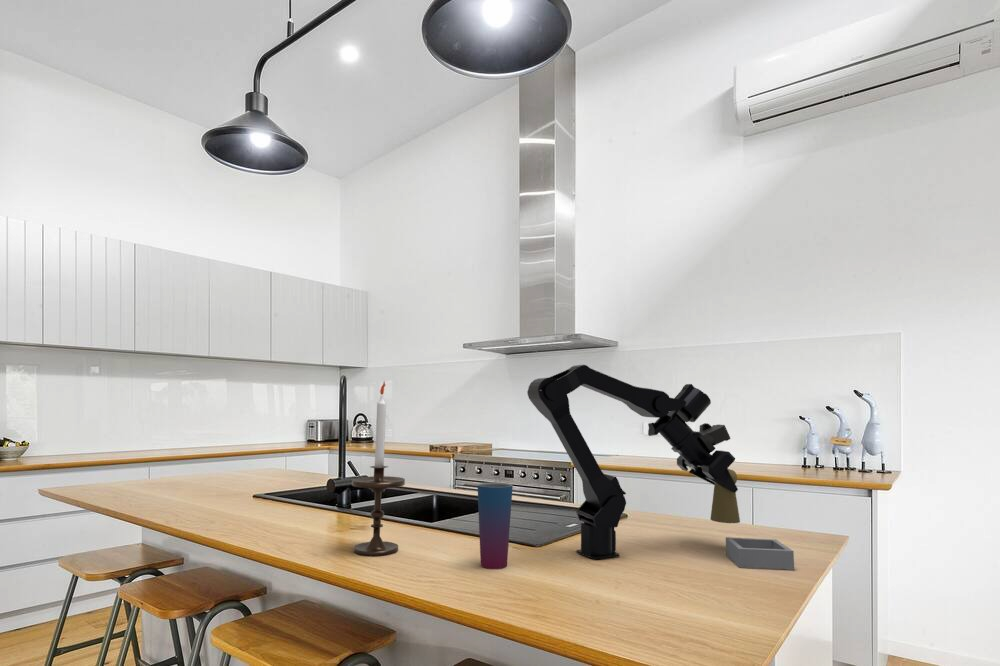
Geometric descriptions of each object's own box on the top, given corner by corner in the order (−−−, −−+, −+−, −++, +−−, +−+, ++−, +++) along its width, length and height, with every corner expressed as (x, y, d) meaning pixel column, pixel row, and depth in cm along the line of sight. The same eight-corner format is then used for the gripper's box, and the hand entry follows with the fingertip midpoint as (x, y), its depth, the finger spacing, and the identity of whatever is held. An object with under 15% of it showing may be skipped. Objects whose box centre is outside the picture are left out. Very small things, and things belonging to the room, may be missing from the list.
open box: (739, 567, 114) (738, 548, 115) (726, 554, 124) (725, 537, 124) (794, 570, 113) (793, 551, 113) (776, 556, 123) (775, 539, 123)
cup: (477, 560, 117) (478, 482, 118) (511, 561, 116) (512, 482, 118) (474, 569, 110) (476, 486, 112) (511, 570, 110) (512, 487, 111)
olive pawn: (745, 523, 127) (744, 470, 128) (719, 523, 126) (718, 470, 127) (730, 517, 132) (729, 467, 134) (705, 517, 131) (704, 467, 133)
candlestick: (412, 552, 122) (417, 381, 126) (362, 560, 115) (369, 379, 119) (387, 542, 130) (393, 382, 134) (340, 549, 124) (348, 380, 128)
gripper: (724, 412, 122) (778, 468, 122) (689, 410, 141) (735, 459, 140) (687, 449, 121) (741, 506, 120) (656, 443, 139) (703, 493, 139)
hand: (730, 489), depth 130 cm, fingers closed on olive pawn, 5 cm apart
